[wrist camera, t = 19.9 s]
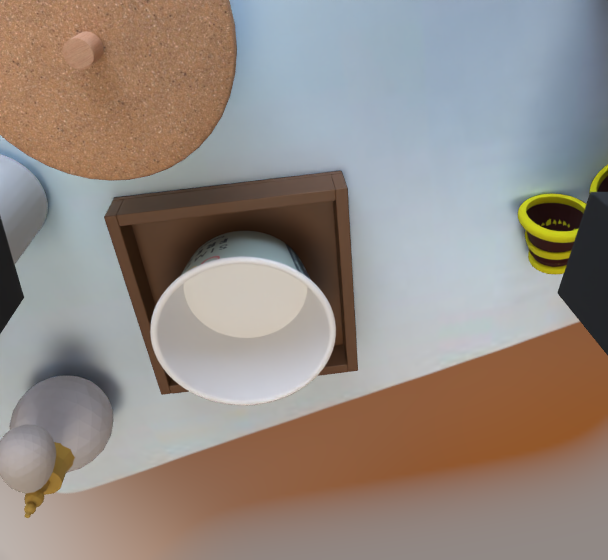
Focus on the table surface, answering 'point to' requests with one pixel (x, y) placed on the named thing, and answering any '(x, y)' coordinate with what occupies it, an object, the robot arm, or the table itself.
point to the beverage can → (20, 205)
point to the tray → (229, 218)
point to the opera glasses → (554, 225)
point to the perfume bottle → (53, 435)
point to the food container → (243, 322)
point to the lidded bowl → (114, 81)
